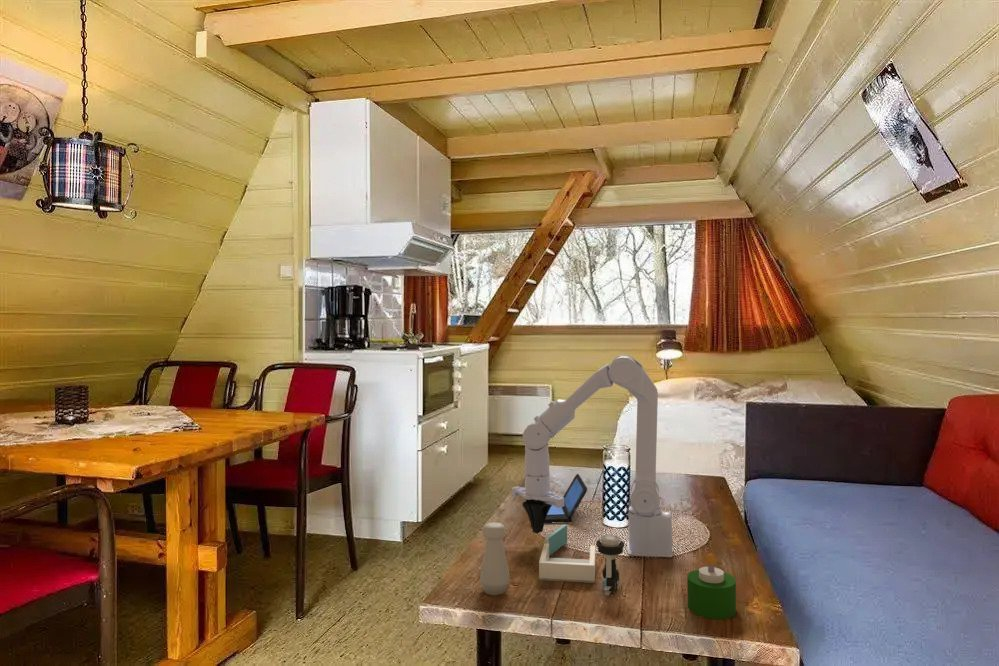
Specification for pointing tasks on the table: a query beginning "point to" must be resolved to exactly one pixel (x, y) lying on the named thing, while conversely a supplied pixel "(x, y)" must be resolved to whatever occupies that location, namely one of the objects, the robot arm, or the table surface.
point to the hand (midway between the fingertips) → (537, 531)
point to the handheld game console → (568, 502)
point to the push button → (610, 561)
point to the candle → (711, 592)
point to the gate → (556, 539)
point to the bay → (567, 567)
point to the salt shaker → (494, 560)
